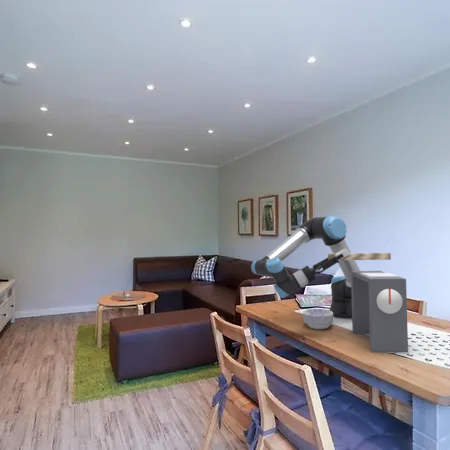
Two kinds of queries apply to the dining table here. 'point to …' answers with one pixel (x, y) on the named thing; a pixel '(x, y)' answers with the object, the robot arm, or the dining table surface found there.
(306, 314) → the paper bowls
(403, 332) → the scale shelf
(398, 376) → the dining table surface
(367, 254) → the beech bar
